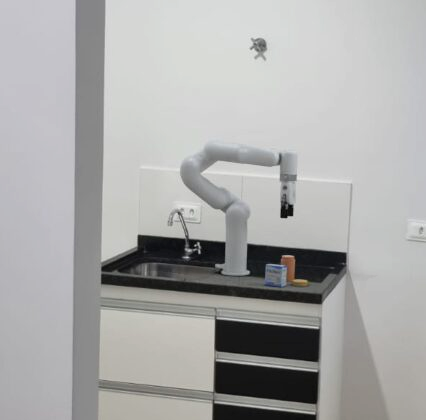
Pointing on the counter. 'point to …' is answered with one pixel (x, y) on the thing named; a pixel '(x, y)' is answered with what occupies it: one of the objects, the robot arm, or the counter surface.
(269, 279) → the medicine box
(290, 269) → the jam jar
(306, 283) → the jar lid
